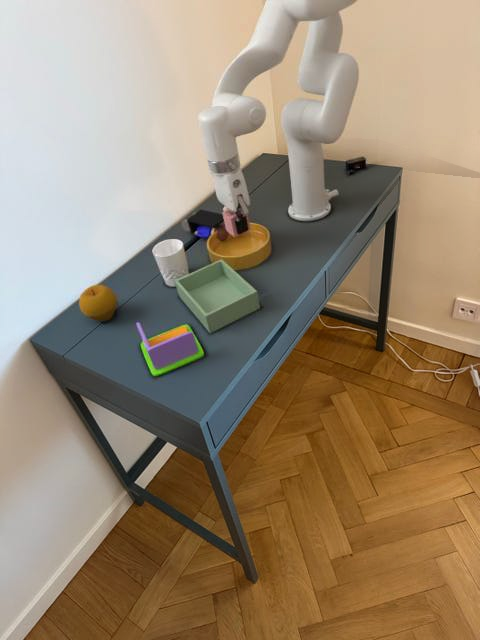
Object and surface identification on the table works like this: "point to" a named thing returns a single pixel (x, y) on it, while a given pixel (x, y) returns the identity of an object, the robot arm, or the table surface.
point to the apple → (98, 303)
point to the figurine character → (205, 224)
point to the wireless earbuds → (355, 164)
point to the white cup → (171, 260)
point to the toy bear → (232, 221)
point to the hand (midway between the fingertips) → (237, 227)
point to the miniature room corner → (170, 349)
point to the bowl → (241, 248)
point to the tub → (217, 295)
